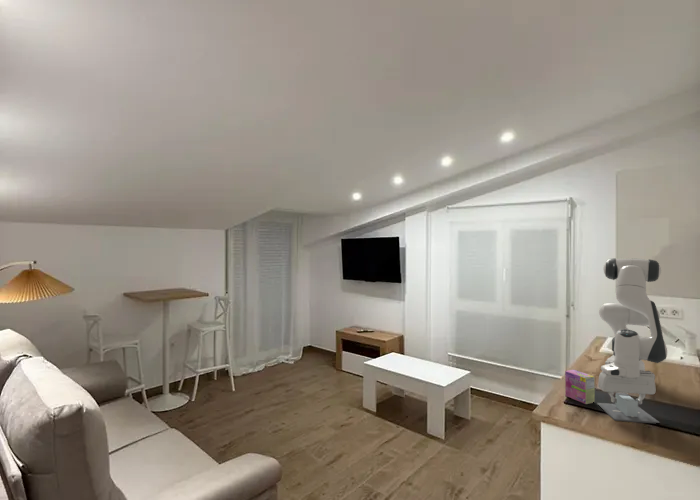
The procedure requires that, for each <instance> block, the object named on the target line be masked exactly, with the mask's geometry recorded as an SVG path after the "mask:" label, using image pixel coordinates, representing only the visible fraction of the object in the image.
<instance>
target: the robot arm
mask: <svg viewBox="0 0 700 500" xmlns="http://www.w3.org/2000/svg"><path fill="white" fill-rule="evenodd" d="M661 268H662V267H661V266H660V263H659V261H657V260H655V259H645V258H629V257H628V258H608V259H607V260H606V261H605V262H604V265H603V274H604V275H605V277H606V278H607V279H609V280H613V281H615V280H616V285H615V297H616V300H617V302H606V303H603V304H601V306H600V307H599V309H598V314H599V317H600V319H601V320H602V321H604V323H606V324H607V325H608V326H609V327H610V328H611V330H612V332H613V334H614V335H613V336H614V337H612V339H611V351H612V355H611V356H610V357H608V358H606V361H605V364H602V365H601V366H600V370H601V372H600V373H599V374H598V384H597V386H598V388H599V390H601V391H602V392H604V393H605V392H606V393H607V394H608V395H609V397H610V402H612V403H614V404H615V403H617V399H616V398H615V397H616V396H614V394H615V393H626V394H636V395H639V396H638V397H637V398H635V400H636V401H637V402H638V405H642V404H643V401H644V399H645V398H646V395H654V394H655V393H656V390H657V389H656V382H655V380H656V375H655V374H654V372H652V371H650V370H646V368H645V366H646V365H645V362H644V361H647V362H651V363H655V364H658V363H661V362H663V361H666V359H667V357H668V347H667V344H666V343H665V340H664V335H663V330H662V326H661V325H662V324H661V322H660V321H661V320H660V318H661V315H660V312H659V310H658V308H657V306H656V303H655V302H654V301H653V300H651V299H650V298H649V297H648V294H647V282H648V283H651V282H656V281H658V280H659V278H660V276H661V275H662V269H661ZM628 325H632V326H639V327H640V326H643V327H644V326H648V327H649V331H650V332H649V333H650V336H641V335H639V333H638V332H636V331H635V330H633V329H632V330H631V329H629V328H628V327H627V326H628Z"/></svg>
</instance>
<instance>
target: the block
mask: <svg viewBox="0 0 700 500" xmlns="http://www.w3.org/2000/svg"><path fill="white" fill-rule="evenodd" d="M614 397H615V398H616V399H617V403H615V402H614V404H615V407H616V408H618V409H619V410H620V411H621V412H622V413H624V414H625V415H626V416H633V417H638V407H639V404H638V402H637V401H636V399H634V398H633V397H631V396H630V395H629V393H619V392H615V396H614Z"/></svg>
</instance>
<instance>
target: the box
mask: <svg viewBox="0 0 700 500" xmlns="http://www.w3.org/2000/svg"><path fill="white" fill-rule="evenodd" d="M564 374H565V375H564V378H565V379H564V380H565V383H564V384H565V386H564V388H565V390H564V391H565V394H564V395H565V397H567V398H571V399H572V400H575V401H577V402H579V403H582V404H584V405H588V404H589V405H590V404H593V402H594V403H595V399H596V398H595V397H596V396H595V394H596V392H595V388H596V387H595V386H596V385H595V384H596V383H595V381H596V380H595V379H596V378H595V376H594V375H592V374H588V373H585V372H582V371H578V370H576V369H569V370H565V372H564Z"/></svg>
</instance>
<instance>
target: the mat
mask: <svg viewBox="0 0 700 500" xmlns="http://www.w3.org/2000/svg"><path fill="white" fill-rule="evenodd" d="M595 405H597V406H598V405H599V406H600V407H601V408H602V409H603V410H604V413H605V414H607V416H609V417H610V418H611V419H612V420H613V421H617V422H628V423H629V422H630V423H632V422H633V423H643V424H656V423H660V424H661V422H660V421H659V420H657V419H656V418H655V417H653V416H652V415H651V414H649V413H648V412H646V411H645V410H644V409H642V408H641V407H640V406H638V417H633V416H626V415H625V414H624V413H622V412H621V411H620V410H619V409H618V408H616V407H615V403H608V402H607V403H606V402H596V403H595ZM599 406H598V407H599ZM600 407H599V408H600ZM601 408H600V409H601ZM602 409H601V410H602ZM603 410H602V411H603Z"/></svg>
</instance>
